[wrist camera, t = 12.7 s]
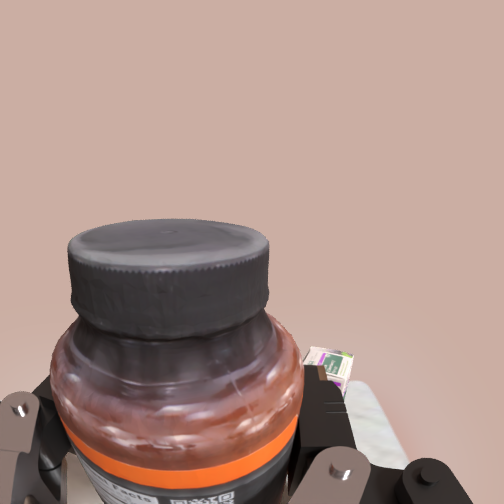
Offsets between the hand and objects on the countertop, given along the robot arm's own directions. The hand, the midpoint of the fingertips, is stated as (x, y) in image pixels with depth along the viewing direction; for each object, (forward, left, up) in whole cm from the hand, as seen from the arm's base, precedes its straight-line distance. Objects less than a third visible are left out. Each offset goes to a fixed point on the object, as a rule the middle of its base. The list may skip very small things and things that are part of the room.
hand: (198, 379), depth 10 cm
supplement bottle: (0, -2, -6) cm, 7 cm away
